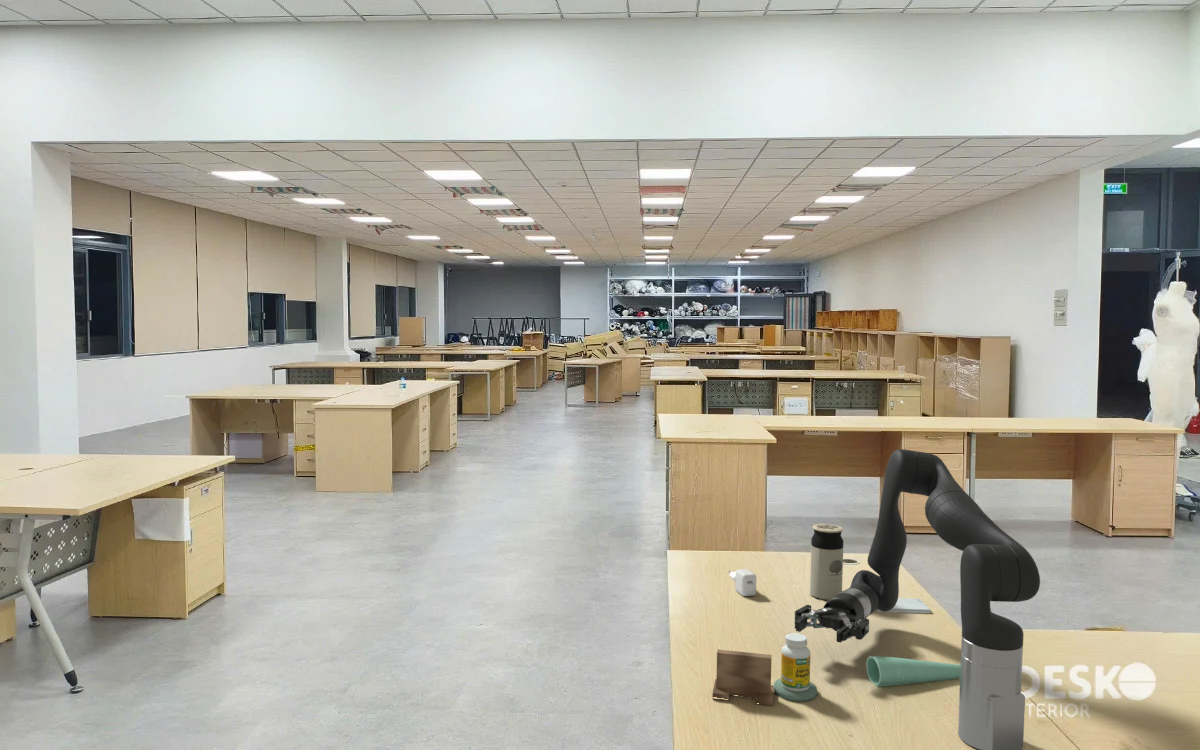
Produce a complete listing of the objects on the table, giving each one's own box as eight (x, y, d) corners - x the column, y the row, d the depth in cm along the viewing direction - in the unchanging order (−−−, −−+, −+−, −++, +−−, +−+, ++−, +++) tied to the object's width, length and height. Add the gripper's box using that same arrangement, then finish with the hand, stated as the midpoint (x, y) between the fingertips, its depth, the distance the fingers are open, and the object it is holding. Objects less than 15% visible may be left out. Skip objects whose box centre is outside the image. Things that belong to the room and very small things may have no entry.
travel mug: (804, 591, 209) (806, 523, 208) (833, 589, 210) (835, 522, 209) (818, 601, 201) (819, 531, 200) (847, 600, 203) (849, 530, 201)
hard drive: (919, 598, 202) (869, 596, 203) (930, 609, 193) (878, 607, 194) (919, 604, 202) (869, 602, 203) (930, 616, 194) (878, 613, 195)
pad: (824, 699, 148) (824, 694, 148) (784, 703, 146) (784, 698, 146) (805, 680, 156) (805, 675, 156) (766, 684, 154) (766, 679, 154)
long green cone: (1005, 653, 157) (880, 662, 152) (1003, 681, 157) (879, 690, 152) (987, 643, 162) (866, 651, 157) (986, 669, 163) (865, 678, 158)
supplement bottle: (794, 677, 155) (795, 629, 154) (815, 688, 150) (817, 638, 150) (774, 684, 152) (775, 635, 151) (795, 695, 147) (797, 644, 147)
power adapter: (724, 584, 214) (725, 562, 214) (741, 583, 216) (742, 561, 215) (741, 597, 204) (741, 575, 203) (758, 596, 205) (759, 574, 204)
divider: (773, 691, 151) (774, 650, 150) (772, 706, 145) (773, 663, 145) (715, 685, 153) (716, 644, 153) (712, 699, 148) (713, 657, 147)
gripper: (816, 585, 175) (784, 605, 163) (881, 600, 167) (853, 622, 154) (815, 619, 176) (783, 641, 163) (880, 635, 167) (852, 660, 154)
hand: (817, 632), depth 158 cm, fingers open, 8 cm apart
